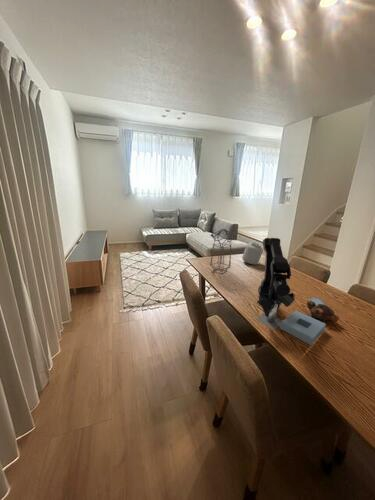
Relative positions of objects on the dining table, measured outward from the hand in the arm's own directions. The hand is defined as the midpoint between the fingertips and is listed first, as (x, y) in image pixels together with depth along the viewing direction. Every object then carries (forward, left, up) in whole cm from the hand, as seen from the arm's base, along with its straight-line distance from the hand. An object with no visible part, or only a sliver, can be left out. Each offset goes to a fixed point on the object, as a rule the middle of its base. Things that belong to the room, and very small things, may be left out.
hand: (271, 313), depth 103 cm
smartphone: (+10, +38, -5) cm, 40 cm away
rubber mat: (0, 0, -5) cm, 5 cm away
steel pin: (0, 0, -4) cm, 4 cm away
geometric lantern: (-60, +29, -5) cm, 67 cm away
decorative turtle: (+15, +24, -5) cm, 29 cm away
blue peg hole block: (+13, +6, -5) cm, 15 cm away
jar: (-55, +67, -5) cm, 87 cm away
